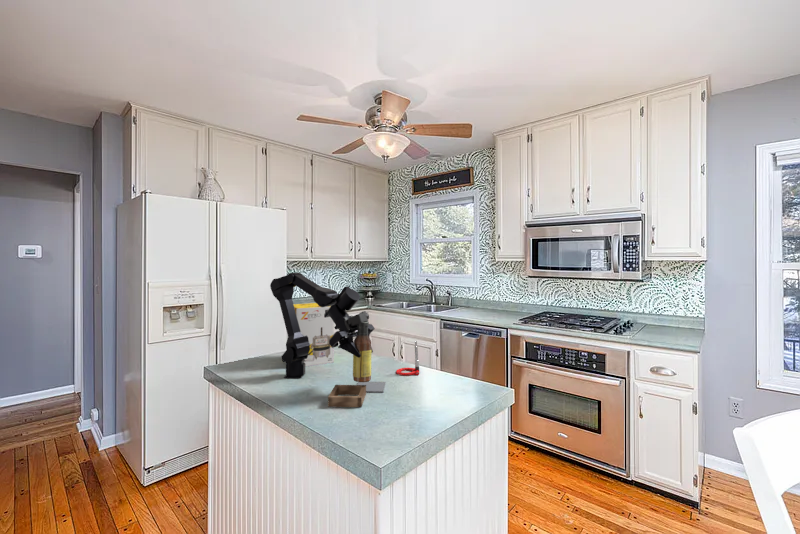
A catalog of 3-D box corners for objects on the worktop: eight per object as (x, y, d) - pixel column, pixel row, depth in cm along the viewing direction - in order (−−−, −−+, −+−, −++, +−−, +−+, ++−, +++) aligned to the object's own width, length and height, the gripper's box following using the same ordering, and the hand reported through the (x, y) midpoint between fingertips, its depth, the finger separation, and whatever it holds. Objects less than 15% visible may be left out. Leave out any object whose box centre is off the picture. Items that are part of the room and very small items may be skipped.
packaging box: (296, 367, 156) (296, 308, 155) (288, 358, 170) (287, 304, 170) (333, 362, 164) (333, 306, 163) (322, 354, 178) (322, 302, 177)
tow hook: (395, 377, 145) (419, 376, 145) (394, 344, 145) (417, 343, 145) (397, 370, 154) (419, 370, 153) (395, 339, 154) (417, 338, 153)
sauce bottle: (372, 379, 129) (375, 321, 130) (369, 383, 122) (372, 323, 124) (353, 377, 129) (356, 320, 130) (349, 382, 123) (353, 322, 124)
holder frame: (327, 406, 114) (327, 397, 114) (335, 393, 126) (335, 384, 126) (361, 407, 114) (361, 397, 114) (366, 393, 125) (366, 385, 125)
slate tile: (354, 392, 127) (354, 390, 127) (358, 382, 137) (358, 381, 137) (383, 392, 127) (383, 391, 127) (385, 383, 137) (385, 381, 137)
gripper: (335, 307, 120) (362, 345, 115) (370, 301, 136) (395, 335, 130) (318, 328, 125) (342, 366, 119) (353, 321, 140) (377, 354, 135)
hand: (366, 354), depth 126 cm, fingers closed on sauce bottle, 6 cm apart
